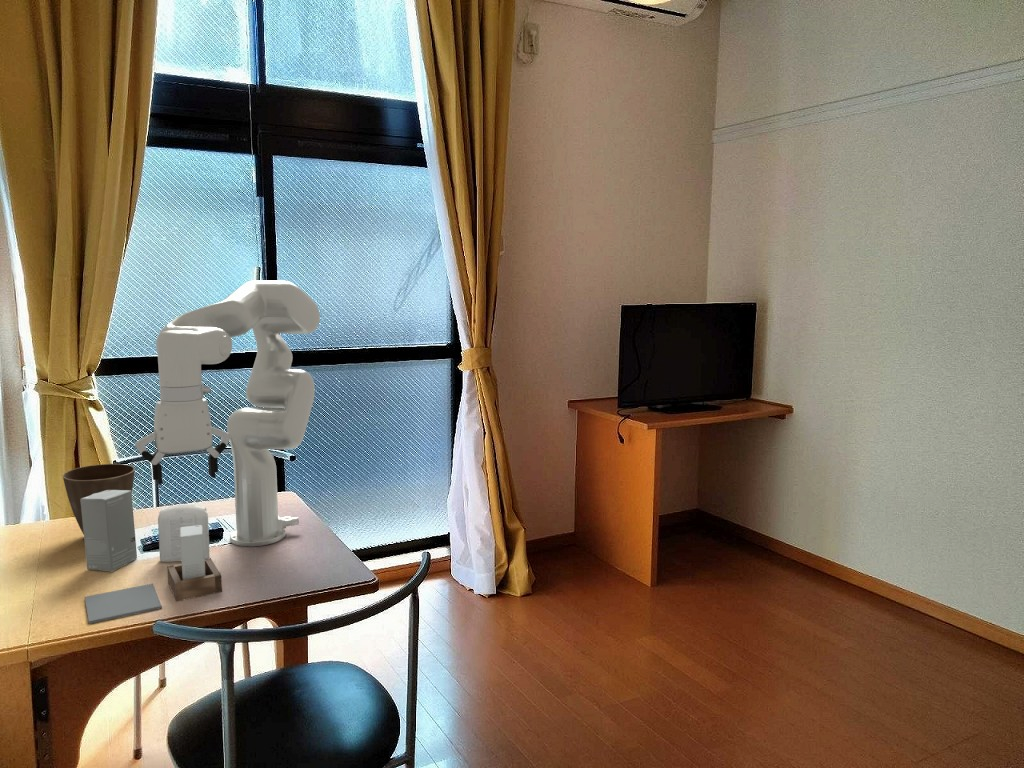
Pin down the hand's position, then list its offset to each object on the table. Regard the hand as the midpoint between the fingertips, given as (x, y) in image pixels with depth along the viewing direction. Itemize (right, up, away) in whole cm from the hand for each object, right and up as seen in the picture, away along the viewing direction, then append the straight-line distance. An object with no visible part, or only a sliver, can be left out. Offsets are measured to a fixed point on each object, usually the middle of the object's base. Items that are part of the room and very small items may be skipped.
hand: (186, 479), depth 146 cm
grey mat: (-10, -23, -5) cm, 26 cm away
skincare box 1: (-23, -20, +15) cm, 34 cm away
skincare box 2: (0, -22, +3) cm, 23 cm away
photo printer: (-8, -20, +18) cm, 28 cm away
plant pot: (-33, -18, +31) cm, 49 cm away
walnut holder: (0, -22, +3) cm, 22 cm away
